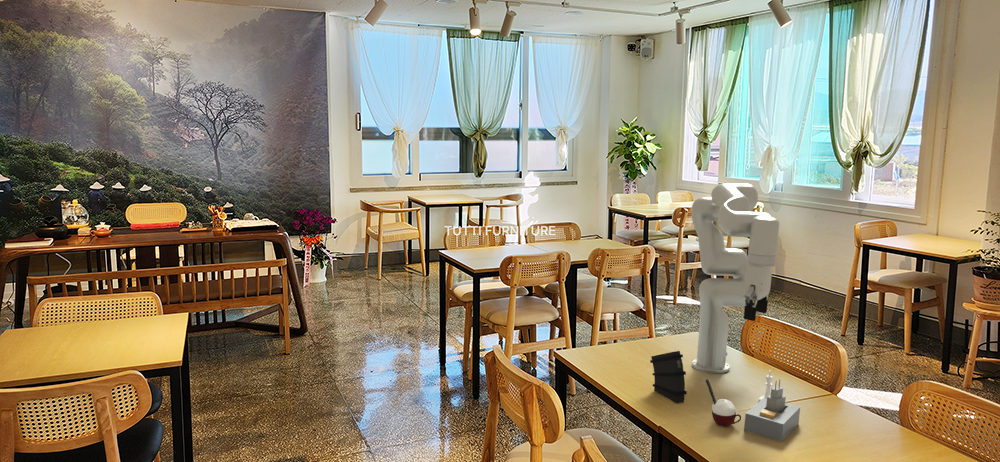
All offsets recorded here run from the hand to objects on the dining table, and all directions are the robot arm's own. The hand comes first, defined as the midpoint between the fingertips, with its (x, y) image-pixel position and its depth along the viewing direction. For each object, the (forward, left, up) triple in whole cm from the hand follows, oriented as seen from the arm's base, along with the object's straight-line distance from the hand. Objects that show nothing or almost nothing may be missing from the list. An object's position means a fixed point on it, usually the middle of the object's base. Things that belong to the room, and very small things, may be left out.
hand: (755, 315), depth 197 cm
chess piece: (-7, +3, -28) cm, 29 cm away
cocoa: (+18, -1, -28) cm, 33 cm away
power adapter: (+7, +10, -27) cm, 30 cm away
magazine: (+10, -22, -28) cm, 37 cm away
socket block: (+10, +10, -28) cm, 31 cm away
